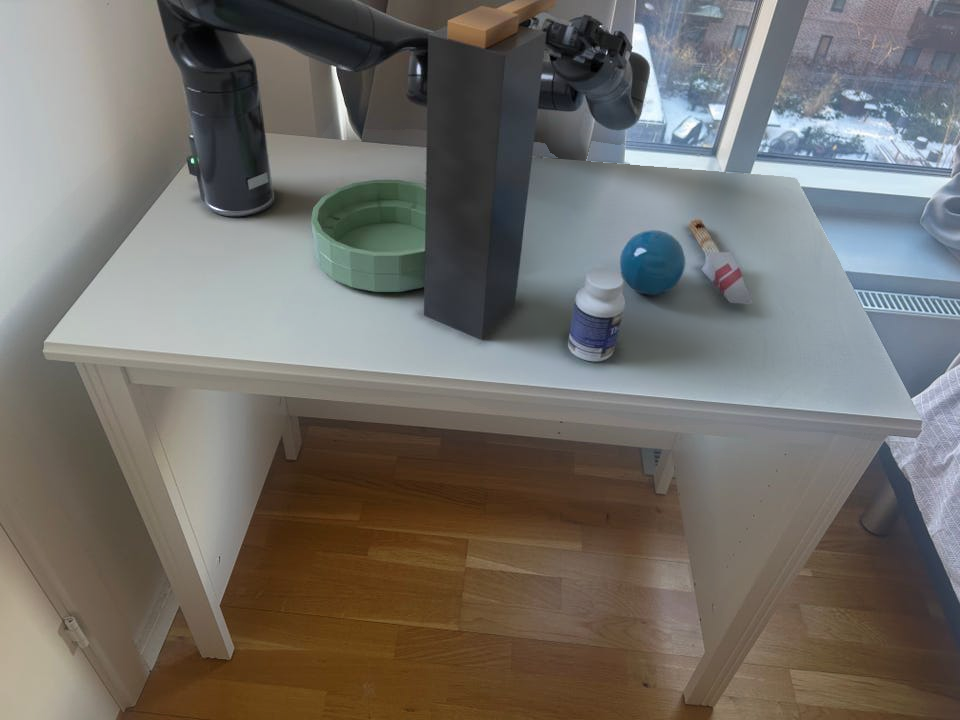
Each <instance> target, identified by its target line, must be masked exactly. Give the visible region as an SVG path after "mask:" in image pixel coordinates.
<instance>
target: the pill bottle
mask: <svg viewBox="0 0 960 720" xmlns="http://www.w3.org/2000/svg"><path fill="white" fill-rule="evenodd" d="M623 286H624V278H623V276H622V274H620V273H619V272H617V271H616V270H614V269H611V268H608V267H607V268H606V267H595V268H591V269H590V270H589V271H587V273H586V274H585V278H584V281H583V286H581V287H580V288H579V289H578V290H577V292H576V295H575V298H574V305H573V311H572V317H571V321H570V327H569V333H568V339H567V346H568V350H569V351H570V352H571V353H572V354H573V355H574V356H575V357H577V358H579V359H581V360H584V361H587V362H602V361H606V360H607V359H609V358H610V357H611V356H612V355H613V353H614V350H615V347H616V343H617V339H618V335H619V331H620V327H621V322H622V318H623V314H624V311H625V306H626V301H625V297H624V295H623V291H622V290H623Z"/></svg>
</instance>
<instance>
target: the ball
mask: <svg viewBox="0 0 960 720" xmlns="http://www.w3.org/2000/svg"><path fill="white" fill-rule="evenodd" d="M620 253H621V254H620V257H619V267H620V273H621V274H620V275H621V276H622V278H623V281H625V282H626V284H627V286H629V288H631V289H633V290H634V291H636V292H638V293H639V294H643V295H647V296H648V295H650V296H654V295H660V294H663V293H666V292H668V291H669V290H671V289H673V288H674V287H675V286H676V285H677V284H678V282H679V281H681V280H680V279H681V278H682V277H683V274H684V272H685V269H686V256H685V252H684V249H683V246H682V245H681V243H680V241H678V240H677V239H676V237H674V236H673V235H672V234H670V233H668V232H665V231H662V230H657V229H650V230H645V231H642V232H640V233H637V234H636V235H633V237H632V236H631V238H630V239H629V240H628V241H627V242H626V244H625V245H624V247H623V249H622V250H621V252H620Z"/></svg>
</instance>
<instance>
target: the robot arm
mask: <svg viewBox="0 0 960 720" xmlns="http://www.w3.org/2000/svg"><path fill="white" fill-rule="evenodd" d="M512 1H515V0H508V1H507V3H506V4H508V3H510V2H512ZM156 3H157V4H156V5H157V9H158V13H159V17H160V21H161V25H162V28H163V32H164V36H165V37H164V38H165V40H166V41H165V42H166V44H167V47H168V51H169V54H170V55H171V57H172V59H173V61H174V63H175V64H176V66H177V69H178V71H179V75H180V80H181V85H182V89H183V94H184V99H185V105H186V108H187V114H188V118H189V123H190V128H191V133H190V134H189V135H188V142H189V147H190V152H191V155H189V156H187V157H186V163H187V169H188V173H189V175H191V176H194V177H195V178H196V179H197V180H196V181H197V185H198V186H197V187H198V191H199V196H200V200H203V201H204V202H205V206H206V208H207V209H208V210H209V211H211V212H213V213H215V214H217V215H221V216H225V217H247V216H252V215H256V214H258V213H262V212H263V211H265V210H267V209H268V208H270V207H271V206H273V204H274V203H275V191H274V189H273V182H272V173H271V165H270V159H269V158H270V157H269V150H268V142H267V136H266V129H265V121H264V114H263V106H262V100H261V99H262V98H261V91H260V85H259V77H258V70H257V63H256V59H255V57H254V54H253V53H252V51H251V50H250V49H249V48H248V46H247V45H246V44H245V43H244V41H243V40H242V39H241V37H240V35H244V36H250V37H255V38H259V39H264V40H268V41H272V42H276V43H279V44H283V45H285V46H287V47H288V48H291V49H293V50H294V51H296V52H298V53H299V54H301V55H304V56H305V57H307V58H310V59H312V60H315V61H317V62H319V63H322V64H325V65H328V66H331V67H335V68H337V69H340V70H344V71H348V72H351V73H360V72H365V71H367V70H368V71H369V70H371V69H373V68H375V67H377V66H378V65H381V64H382V63H384V62H386V61H387V60H389V59H391V58H392V57H394V56H396V55H397V54H399V53H403V52H405V51H409V59H408V60H409V62H408V68H407V77H406V82H405V83H406V84H405V95H406V98H407V100H408V101H409V102H411V103H413V104H414V105H417V106H419V107H423V108H427V90H428V34H430V33H433V32H435V31H434V30H430V29H427V28H424V27H420V26H418V25H415V24H411V23H408V22H405V21H403V20H401V19H398V18H396V17H393V16H392V15H389V14H387V13H384V12H383V11H380V10H378V9H376V8H374V7H371V6H370V5H367V4H366V3H363V2H362V1H360V0H156ZM545 22H547V23H549V24H547V25H545ZM518 25H519V26H523V27H527V28H531V29H535V30H539V31H543V32H546V41H545V50H544V51H545V52H546V53H547V54H548V56H549V59H543V67H542V76H541V85H540V93H539V102H538V110H544V111H545V110H546V111H555V112H565V113H566V112H568V113H570V112H576V111H578V110H579V109H580V108H581V107H582V105H583V104H584V101H586V104H587V108H588V110H589V113H590V114H591V116H592V118H593V119H594V120H595V122H597V124H599V125H601V126H602V127H604V128H606V129H609V130H613V131H625V130H628V129H631V128H632V127H634V126H635V125H636V124H637V123H638V122H639V120H640V119H641V116H642V113H643V109H644V104H645V99H646V93H647V89H648V84H649V80H650V74H651V64H650V62H649V61H648V59H646V58H645V56H643V55H642V54H640V53H638V52H636V51H632V50H633V45H632V44H631V42H630V40H629V38H628V37H627V35H626V33H624V32H623V31H621V30H614V32H613V34H612V33H611V32H610V31H609V28H608V27H607V26H605V25H604V24H603V23H602V21H600V20H598V19H597V18H594V17H593V16H592V15H589V14H583V15H582V16H577V17H574V18H571V19H569V20H568V19H565V18H564V19H562V18H561V19H560V18H558V17H556V16H554V15H553V14H550V13H548V12H546V11H544V12H542V13H540V14H538V15H536V16H534V17H532V18H530V19H528V20H526V21H524V22H522V23H520V24H518Z"/></svg>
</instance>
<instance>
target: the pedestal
mask: <svg viewBox="0 0 960 720" xmlns="http://www.w3.org/2000/svg"><path fill="white" fill-rule="evenodd" d="M447 30H448V25H446V26H444V27H441V28H439V29H437V30H435V31H434V32H433V33H430V34H428V90H427V107H426V155H425V156H426V163H425V166H426V167H425V186H426V217H425V280H424V287H423V290H424V291H423V296H424V297H423V316H425V317H426V318H429V319H432V320H434V321H436V322H439V323H441V324H444V325H446V326H448V327H450V328H453V329H454V330H458V331H460V332H462V333H465V334H466V335H469V336H471V337H474V338H476V339H478V340H481V341H482V340H483V339H484V338H485V337H486V336H487V335H489V333H490V332H491V331H492V330H493V329H494V328H495V327H497V325H498V324H499V323H500V322H501V321H502V320H503V319H504V318H505V317H506V315H508V314H509V313H510V311H512V310H513V308H514V307H516V300H517V293H518V292H517V291H518V283H519V282H518V281H519V273H520V265H521V258H522V257H521V256H522V249H523V240H524V239H523V238H524V231H525V230H524V229H525V222H526V213H527V205H528V197H529V196H528V195H529V186H530V179H531V177H530V176H531V169H532V161H533V151H534V143H535V135H536V126H537V119H538V111H539V109H538V102H539V93H540V85H541V76H542V67H543V60H545V58H544V57H545V51H546V50H545V41H546V32H543V31H539V30H535V29H531V28H527V27H523V26H519V25H518V32H517V33H515V34H513V35H511V36H509V37H507V38H506V39H504V40H502V41H500V42H498V43H496V44H494V45H492V46H490V47H488V48H486V49H484V48H480V47H476V46H472V45H469V44H465V43H461V42H457V41H454V40H450V39H447Z"/></svg>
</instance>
